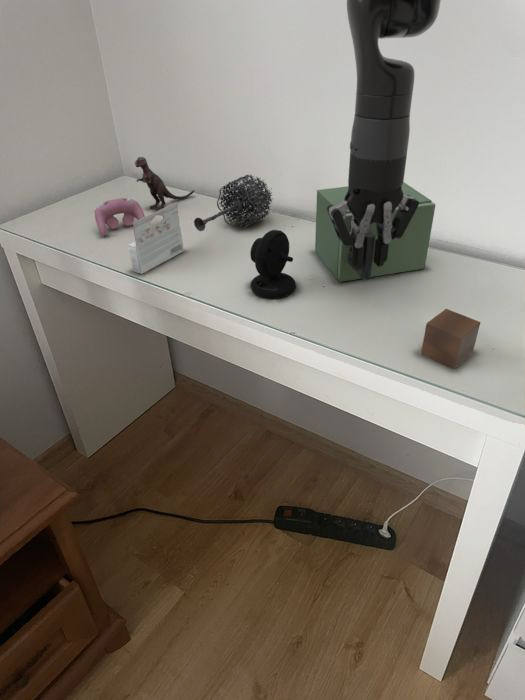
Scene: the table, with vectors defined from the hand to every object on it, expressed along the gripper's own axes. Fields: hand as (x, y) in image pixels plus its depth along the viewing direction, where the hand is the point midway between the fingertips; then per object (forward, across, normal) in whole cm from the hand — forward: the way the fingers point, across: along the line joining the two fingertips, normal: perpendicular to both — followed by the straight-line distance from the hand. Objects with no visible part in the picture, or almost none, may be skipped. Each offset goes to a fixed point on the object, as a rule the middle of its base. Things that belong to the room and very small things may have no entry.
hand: (367, 265), depth 81 cm
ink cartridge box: (+6, -30, +23) cm, 39 cm away
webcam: (+6, -13, +7) cm, 16 cm away
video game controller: (+6, -36, +41) cm, 55 cm away
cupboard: (+6, +6, +12) cm, 15 cm away
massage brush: (+6, -13, +34) cm, 37 cm away
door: (+6, +6, +3) cm, 9 cm away
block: (+6, +5, -17) cm, 19 cm away
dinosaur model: (+6, -25, +52) cm, 58 cm away
